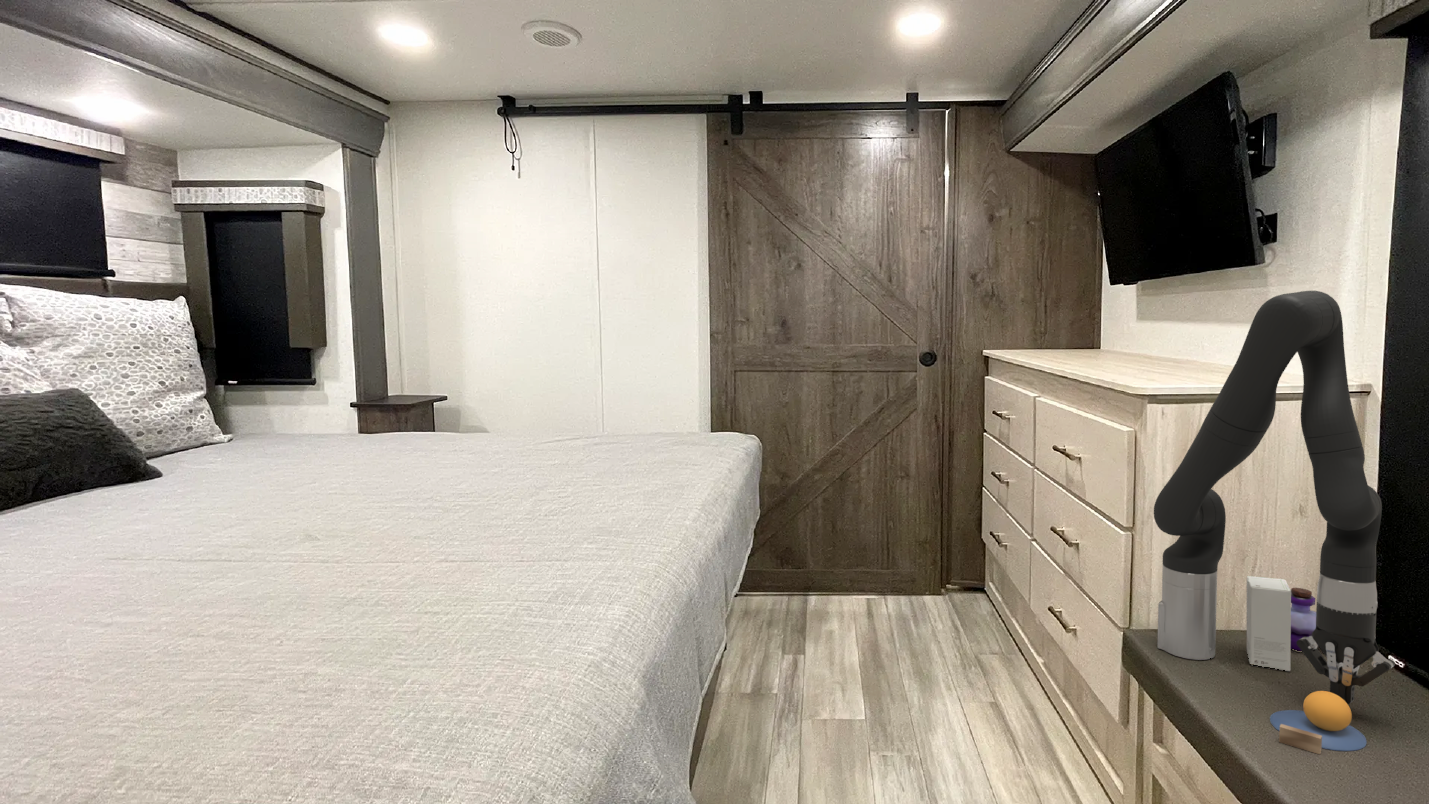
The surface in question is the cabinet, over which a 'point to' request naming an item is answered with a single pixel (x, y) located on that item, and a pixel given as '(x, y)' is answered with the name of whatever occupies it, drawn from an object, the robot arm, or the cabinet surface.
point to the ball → (1327, 711)
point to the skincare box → (1269, 622)
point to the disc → (1321, 731)
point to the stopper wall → (1300, 739)
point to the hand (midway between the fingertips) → (1341, 703)
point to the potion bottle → (1301, 615)
